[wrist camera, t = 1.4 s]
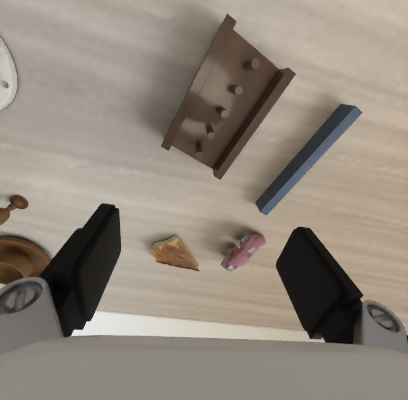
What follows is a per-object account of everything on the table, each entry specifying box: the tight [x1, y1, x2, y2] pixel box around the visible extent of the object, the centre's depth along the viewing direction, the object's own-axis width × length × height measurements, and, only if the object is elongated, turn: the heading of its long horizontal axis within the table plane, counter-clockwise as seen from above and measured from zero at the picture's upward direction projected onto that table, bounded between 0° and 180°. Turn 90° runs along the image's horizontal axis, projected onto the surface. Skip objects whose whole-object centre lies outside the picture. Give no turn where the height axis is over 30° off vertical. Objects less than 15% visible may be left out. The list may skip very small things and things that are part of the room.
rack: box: [161, 14, 296, 180], centre depth 26 cm, size 10×16×6 cm, turn 148°
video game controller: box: [221, 234, 266, 271], centre depth 40 cm, size 10×5×7 cm, turn 143°
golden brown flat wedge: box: [150, 235, 199, 271], centre depth 43 cm, size 11×8×2 cm
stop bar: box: [256, 104, 362, 215], centre depth 32 cm, size 2×20×3 cm, turn 149°
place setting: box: [0, 195, 50, 285], centre depth 38 cm, size 18×20×6 cm
